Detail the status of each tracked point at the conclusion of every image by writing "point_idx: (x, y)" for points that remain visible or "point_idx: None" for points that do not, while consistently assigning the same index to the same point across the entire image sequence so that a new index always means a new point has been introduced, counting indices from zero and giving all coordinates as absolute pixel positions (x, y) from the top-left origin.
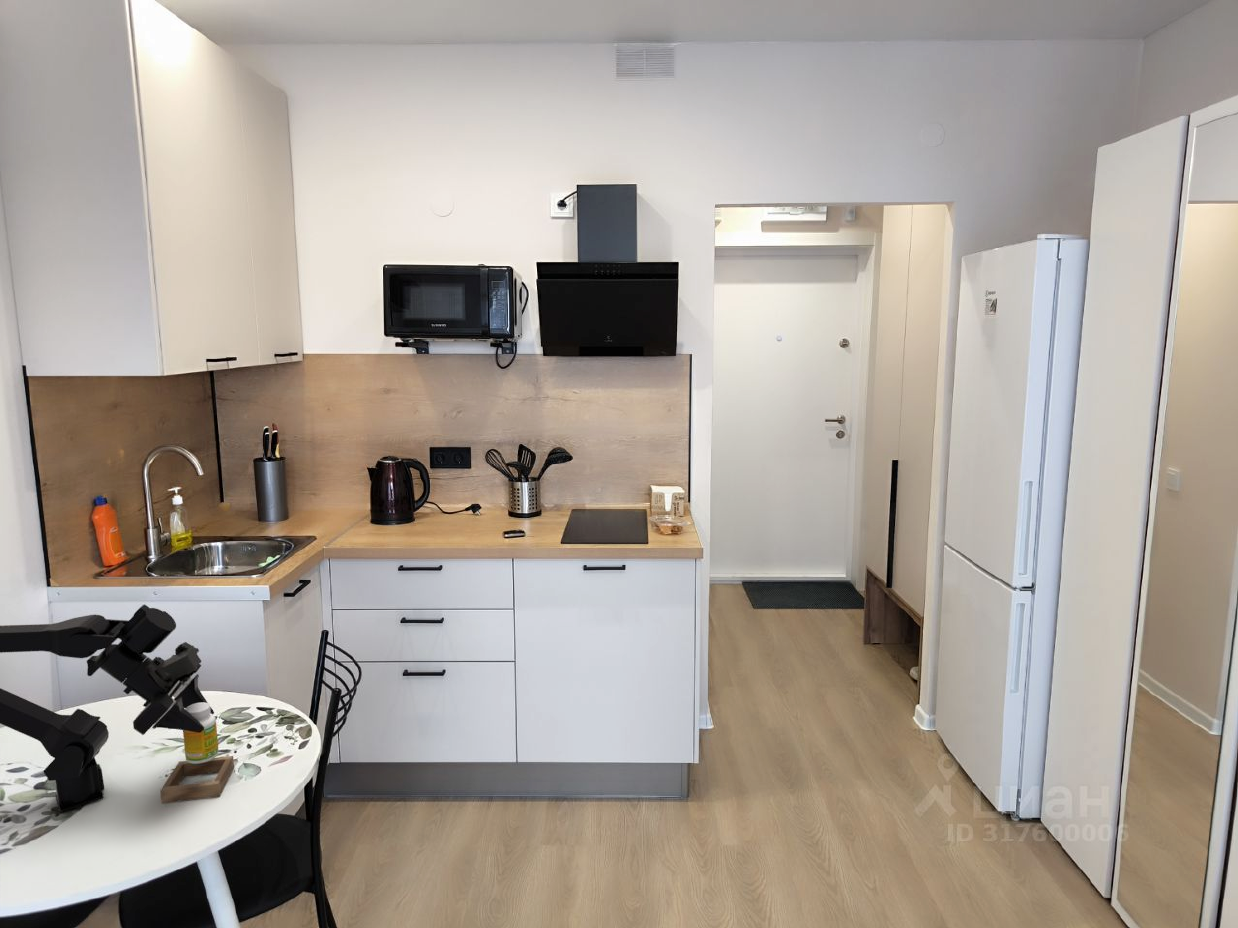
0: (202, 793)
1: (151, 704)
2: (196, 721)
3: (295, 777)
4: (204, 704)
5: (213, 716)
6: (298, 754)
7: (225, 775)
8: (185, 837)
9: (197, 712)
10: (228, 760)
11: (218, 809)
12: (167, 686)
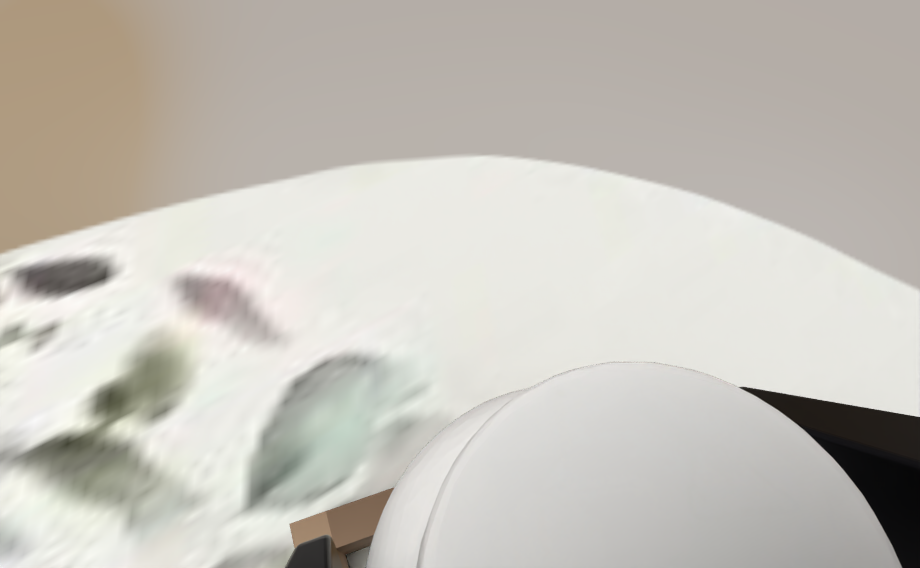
0: None
1: None
2: (860, 424)
3: (381, 178)
4: (521, 521)
5: (475, 424)
6: (172, 254)
7: None
8: (893, 390)
9: (819, 457)
10: (349, 519)
11: None
12: None
